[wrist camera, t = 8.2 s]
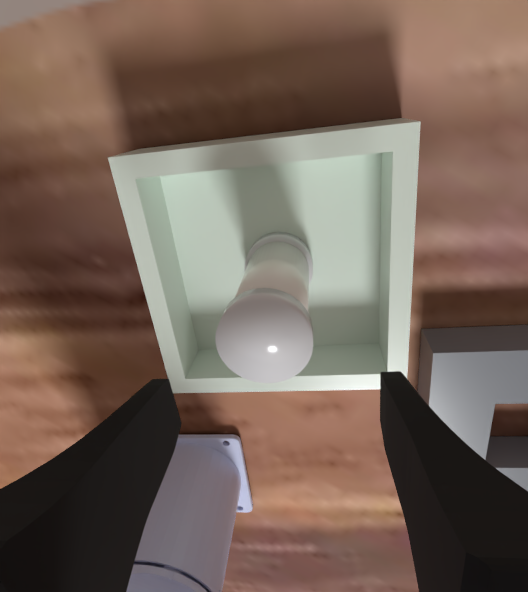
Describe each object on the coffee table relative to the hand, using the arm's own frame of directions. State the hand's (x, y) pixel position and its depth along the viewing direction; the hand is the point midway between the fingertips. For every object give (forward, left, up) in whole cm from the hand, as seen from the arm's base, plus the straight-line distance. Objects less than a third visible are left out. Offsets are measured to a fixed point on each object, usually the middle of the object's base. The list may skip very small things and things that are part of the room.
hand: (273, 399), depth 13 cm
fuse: (0, +1, -10) cm, 10 cm away
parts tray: (-1, +1, -10) cm, 10 cm away
